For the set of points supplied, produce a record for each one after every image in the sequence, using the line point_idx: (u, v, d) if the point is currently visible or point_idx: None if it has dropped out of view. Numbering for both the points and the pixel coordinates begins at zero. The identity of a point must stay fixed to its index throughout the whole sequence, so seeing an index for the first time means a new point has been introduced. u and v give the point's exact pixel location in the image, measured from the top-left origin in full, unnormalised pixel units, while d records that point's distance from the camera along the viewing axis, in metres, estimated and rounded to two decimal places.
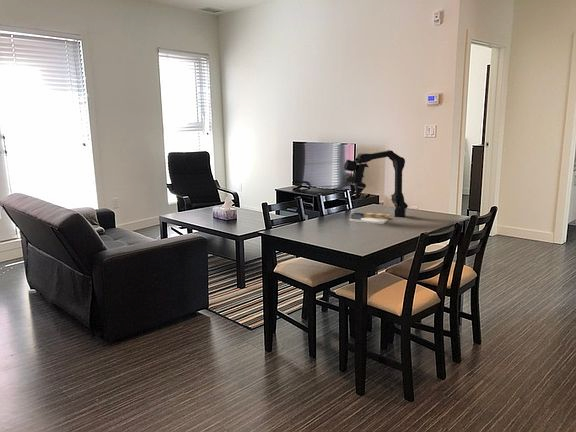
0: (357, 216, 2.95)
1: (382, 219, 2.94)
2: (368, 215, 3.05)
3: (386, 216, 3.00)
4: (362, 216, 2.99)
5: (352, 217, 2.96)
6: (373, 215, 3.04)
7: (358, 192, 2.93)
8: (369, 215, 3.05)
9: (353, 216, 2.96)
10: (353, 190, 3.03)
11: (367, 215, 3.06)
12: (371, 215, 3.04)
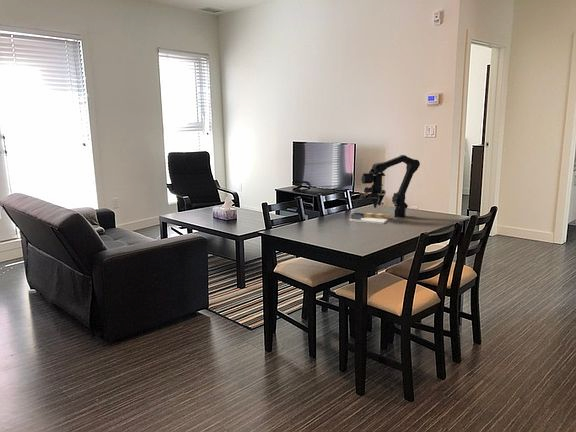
0: (357, 216, 2.95)
1: (382, 219, 2.94)
2: (368, 215, 3.05)
3: (386, 216, 3.00)
4: (362, 216, 2.99)
5: (352, 217, 2.96)
6: (373, 215, 3.04)
7: (375, 202, 2.98)
8: (369, 215, 3.05)
9: (353, 216, 2.96)
10: (380, 200, 3.07)
11: (367, 215, 3.06)
12: (371, 215, 3.04)
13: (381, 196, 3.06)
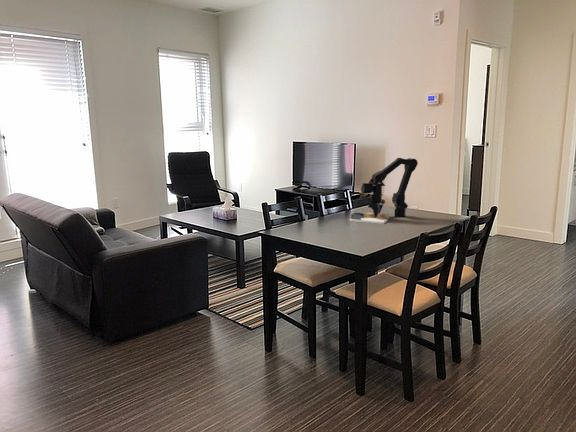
0: (357, 216, 2.95)
1: (382, 219, 2.94)
2: (368, 215, 3.05)
3: (386, 216, 2.99)
4: (362, 216, 2.99)
5: (352, 217, 2.96)
6: (373, 215, 3.04)
7: (375, 211, 3.01)
8: (369, 215, 3.05)
9: (353, 216, 2.96)
10: (378, 210, 3.06)
11: (367, 215, 3.06)
12: (371, 215, 3.04)
13: (380, 206, 3.05)
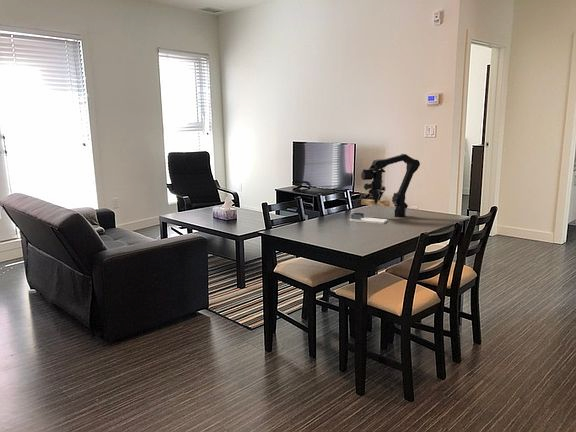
0: (357, 216, 2.95)
1: (382, 219, 2.94)
2: (368, 202, 3.04)
3: (386, 202, 2.98)
4: (362, 216, 2.99)
5: (352, 217, 2.96)
6: (373, 202, 3.02)
7: (376, 198, 2.99)
8: (369, 202, 3.03)
9: (353, 216, 2.96)
10: (378, 197, 3.04)
11: (367, 202, 3.04)
12: (371, 202, 3.03)
13: (380, 193, 3.04)
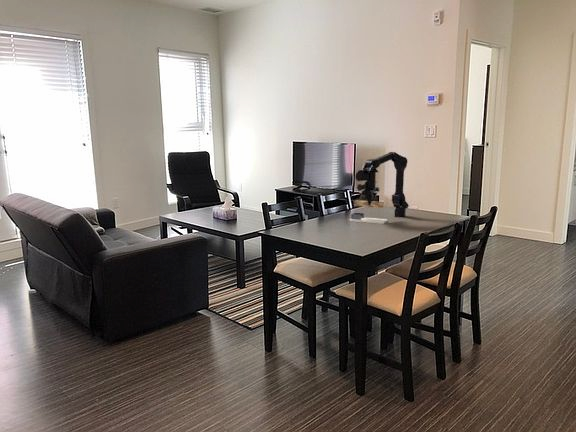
0: (357, 216, 2.95)
1: (382, 219, 2.94)
2: (361, 203, 2.94)
3: (379, 204, 2.88)
4: (362, 216, 2.99)
5: (352, 217, 2.96)
6: (366, 203, 2.92)
7: (369, 199, 2.89)
8: (362, 203, 2.93)
9: (353, 216, 2.96)
10: None
11: (360, 203, 2.94)
12: (364, 203, 2.92)
13: (373, 194, 2.93)
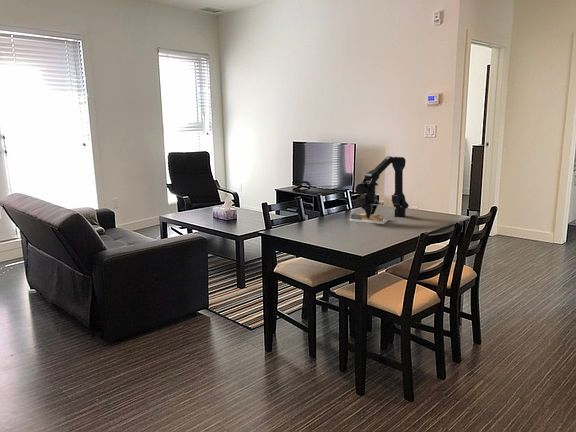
0: (357, 216, 2.95)
1: None
2: (361, 216, 2.95)
3: (379, 217, 2.89)
4: None
5: (352, 217, 2.96)
6: (366, 216, 2.93)
7: (368, 213, 2.89)
8: (362, 216, 2.95)
9: (353, 216, 2.96)
10: (373, 210, 2.97)
11: None
12: (364, 216, 2.94)
13: (374, 206, 2.97)
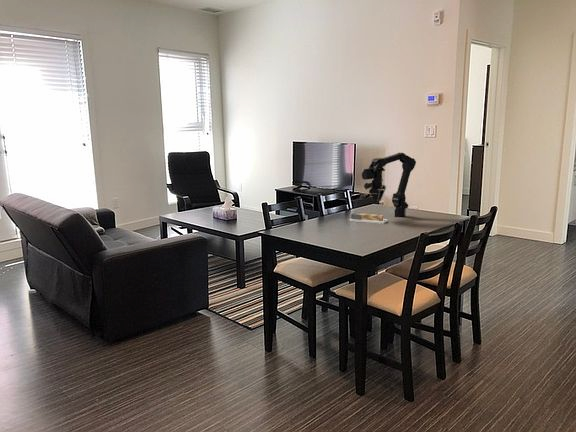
0: (357, 216, 2.95)
1: None
2: (361, 216, 2.95)
3: (379, 217, 2.89)
4: None
5: (352, 217, 2.96)
6: (366, 216, 2.93)
7: (375, 198, 2.93)
8: (362, 216, 2.95)
9: (353, 216, 2.96)
10: (380, 195, 3.02)
11: None
12: (364, 216, 2.94)
13: (381, 191, 3.01)
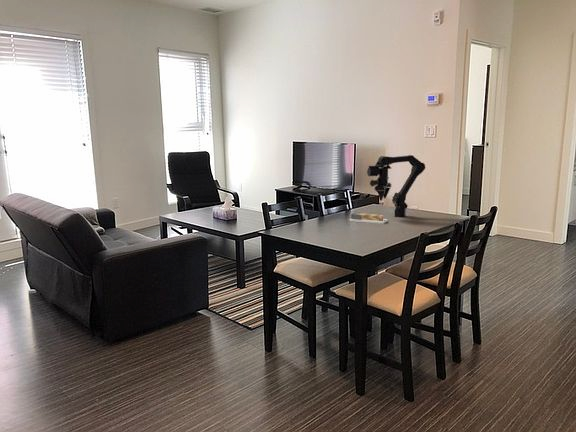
0: (357, 216, 2.95)
1: None
2: (361, 216, 2.95)
3: (379, 217, 2.89)
4: None
5: (352, 217, 2.96)
6: (366, 216, 2.93)
7: (381, 195, 2.98)
8: (362, 216, 2.95)
9: (353, 216, 2.96)
10: (385, 193, 3.07)
11: None
12: (364, 216, 2.94)
13: (387, 189, 3.07)
